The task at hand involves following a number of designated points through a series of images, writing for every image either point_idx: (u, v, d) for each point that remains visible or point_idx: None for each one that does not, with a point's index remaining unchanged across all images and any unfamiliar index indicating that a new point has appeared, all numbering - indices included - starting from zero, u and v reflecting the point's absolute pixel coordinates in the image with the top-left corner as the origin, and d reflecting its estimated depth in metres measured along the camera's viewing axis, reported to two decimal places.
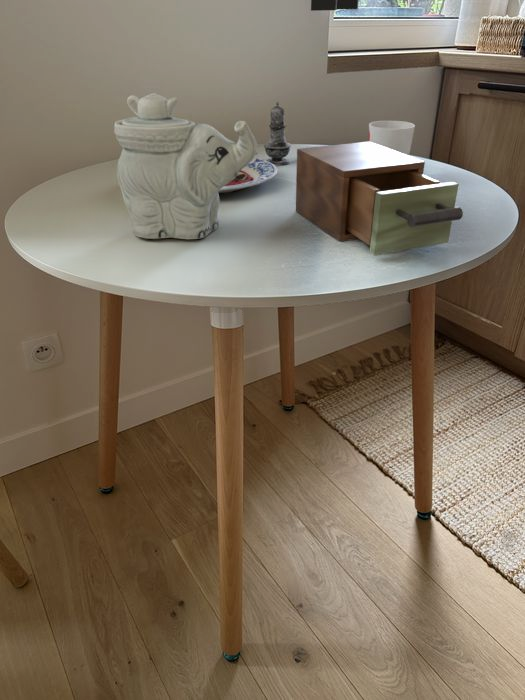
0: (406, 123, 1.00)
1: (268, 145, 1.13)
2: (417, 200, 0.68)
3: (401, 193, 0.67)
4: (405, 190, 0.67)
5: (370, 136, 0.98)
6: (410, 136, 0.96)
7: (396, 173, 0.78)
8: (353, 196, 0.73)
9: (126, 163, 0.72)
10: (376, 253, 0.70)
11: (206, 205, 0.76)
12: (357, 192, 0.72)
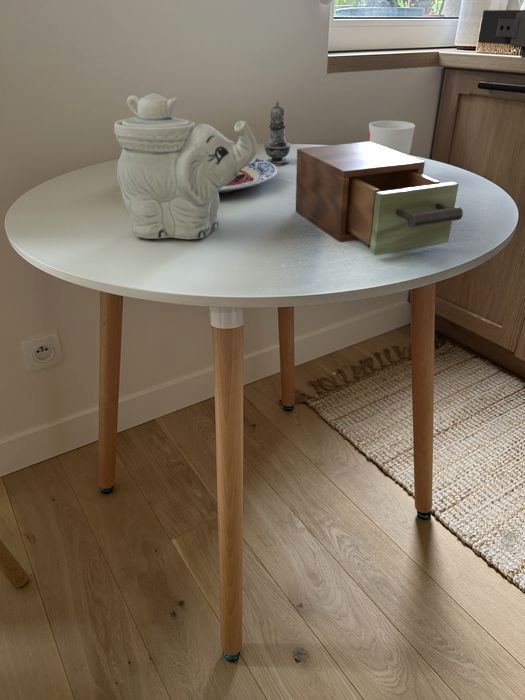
0: (406, 123, 1.00)
1: (268, 145, 1.13)
2: (417, 200, 0.68)
3: (401, 193, 0.67)
4: (405, 190, 0.67)
5: (370, 136, 0.98)
6: (410, 136, 0.96)
7: (396, 173, 0.78)
8: (353, 196, 0.73)
9: (126, 163, 0.72)
10: (376, 253, 0.70)
11: (206, 205, 0.76)
12: (357, 192, 0.72)
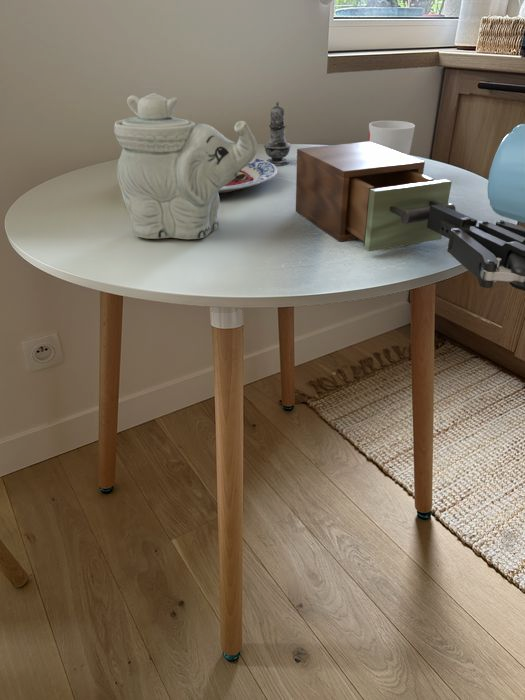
0: (406, 123, 1.00)
1: (268, 145, 1.13)
2: (410, 197, 0.69)
3: (395, 190, 0.68)
4: (399, 187, 0.68)
5: (370, 136, 0.98)
6: (410, 136, 0.96)
7: None
8: (348, 193, 0.74)
9: (126, 163, 0.72)
10: (370, 249, 0.71)
11: (206, 205, 0.76)
12: (352, 189, 0.73)
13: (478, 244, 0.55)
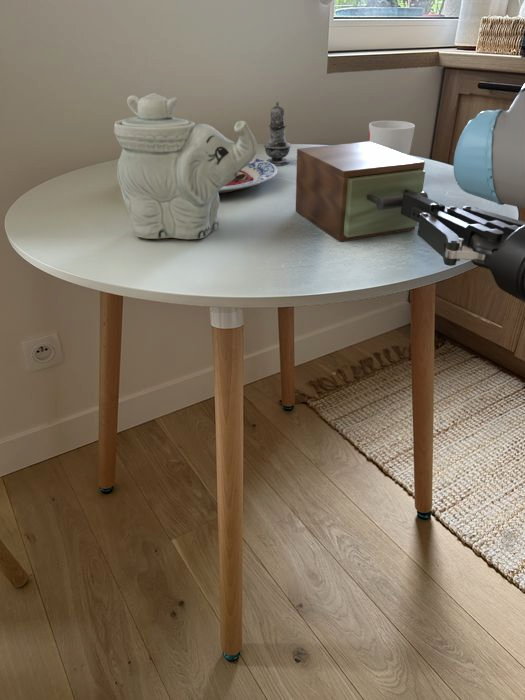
0: (406, 123, 1.00)
1: (268, 145, 1.13)
2: (386, 186, 0.74)
3: (371, 179, 0.72)
4: (375, 176, 0.73)
5: (370, 136, 0.98)
6: (410, 136, 0.96)
7: None
8: None
9: (126, 163, 0.72)
10: (349, 235, 0.75)
11: (206, 205, 0.76)
12: None
13: (444, 226, 0.60)
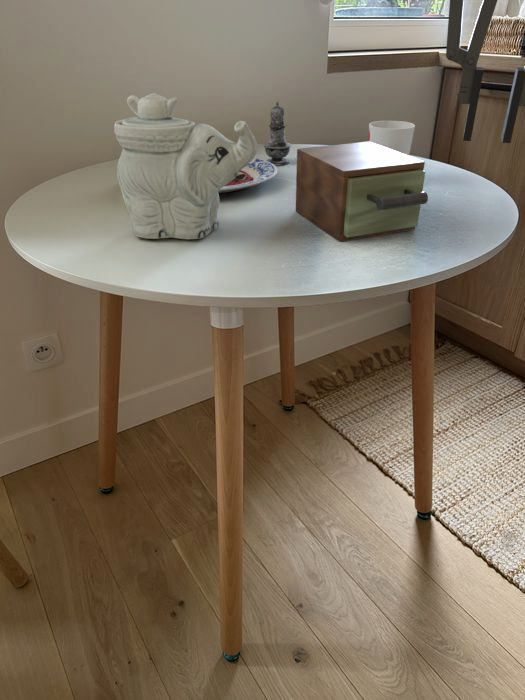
0: (406, 123, 1.00)
1: (268, 145, 1.13)
2: (386, 186, 0.74)
3: (371, 179, 0.72)
4: (375, 176, 0.73)
5: (370, 136, 0.98)
6: (410, 136, 0.96)
7: None
8: None
9: (126, 163, 0.72)
10: (349, 235, 0.75)
11: (206, 205, 0.76)
12: None
13: None
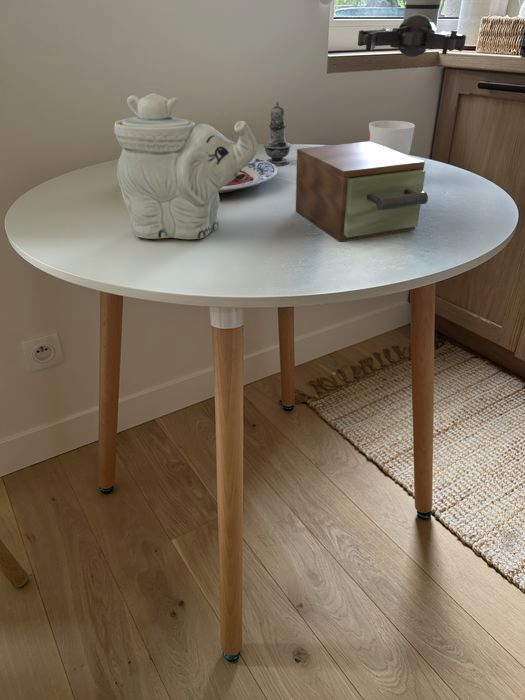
0: (406, 123, 1.00)
1: (268, 145, 1.13)
2: (386, 186, 0.74)
3: (371, 179, 0.72)
4: (375, 176, 0.73)
5: (370, 136, 0.98)
6: (410, 136, 0.96)
7: None
8: None
9: (126, 163, 0.72)
10: (349, 235, 0.75)
11: (206, 205, 0.76)
12: None
13: (451, 33, 1.05)
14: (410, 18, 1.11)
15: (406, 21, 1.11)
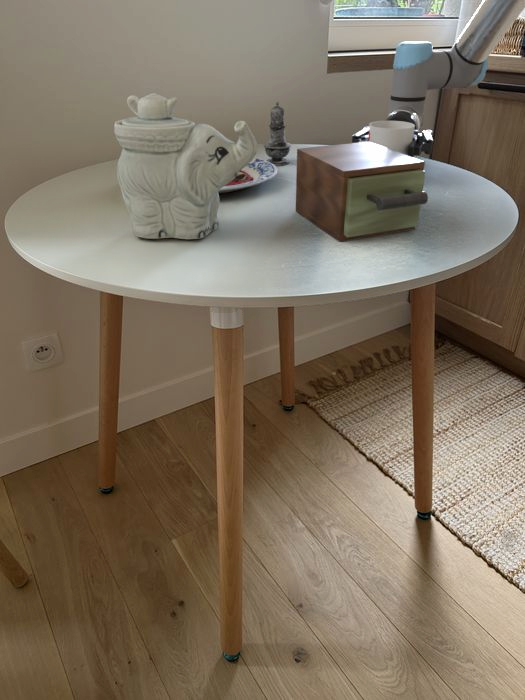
0: (406, 123, 1.00)
1: (268, 145, 1.13)
2: (386, 186, 0.74)
3: (371, 179, 0.72)
4: (375, 176, 0.73)
5: (370, 136, 0.98)
6: (410, 136, 0.96)
7: None
8: None
9: (126, 163, 0.72)
10: (349, 235, 0.75)
11: (206, 205, 0.76)
12: None
13: (425, 135, 1.03)
14: (393, 116, 1.10)
15: (389, 118, 1.10)
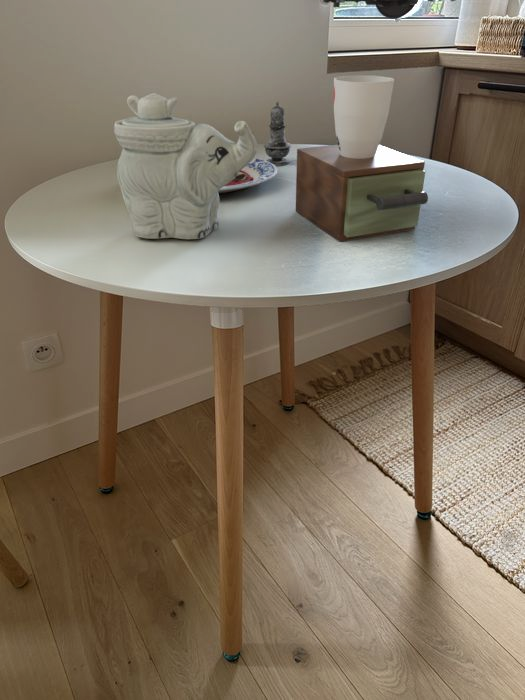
0: (383, 78, 0.76)
1: (268, 145, 1.13)
2: (386, 186, 0.74)
3: (371, 179, 0.72)
4: (375, 176, 0.73)
5: (335, 95, 0.74)
6: (387, 92, 0.72)
7: None
8: None
9: (126, 163, 0.72)
10: (349, 235, 0.75)
11: (206, 205, 0.76)
12: None
13: None
14: None
15: None
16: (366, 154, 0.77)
